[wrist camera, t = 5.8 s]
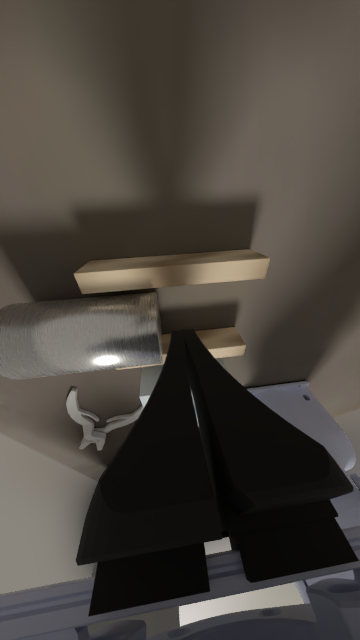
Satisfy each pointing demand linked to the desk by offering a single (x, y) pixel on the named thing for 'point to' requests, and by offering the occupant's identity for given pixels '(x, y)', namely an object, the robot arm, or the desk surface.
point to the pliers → (88, 425)
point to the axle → (80, 335)
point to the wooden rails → (178, 284)
